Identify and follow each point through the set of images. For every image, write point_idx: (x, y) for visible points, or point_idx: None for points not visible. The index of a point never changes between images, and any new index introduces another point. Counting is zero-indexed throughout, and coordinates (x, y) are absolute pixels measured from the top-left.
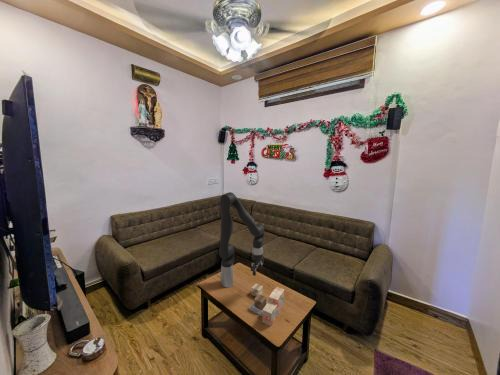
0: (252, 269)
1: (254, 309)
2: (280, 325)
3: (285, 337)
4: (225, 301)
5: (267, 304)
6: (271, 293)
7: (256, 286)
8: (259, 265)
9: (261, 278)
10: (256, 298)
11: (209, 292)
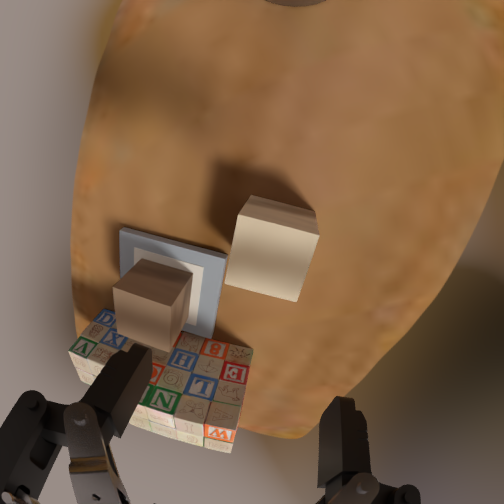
0: (39, 431)
1: (127, 264)
2: None
3: None
4: (115, 62)
5: None
6: (151, 409)
7: (272, 252)
8: (339, 466)
9: (460, 215)
10: (124, 298)
11: None
